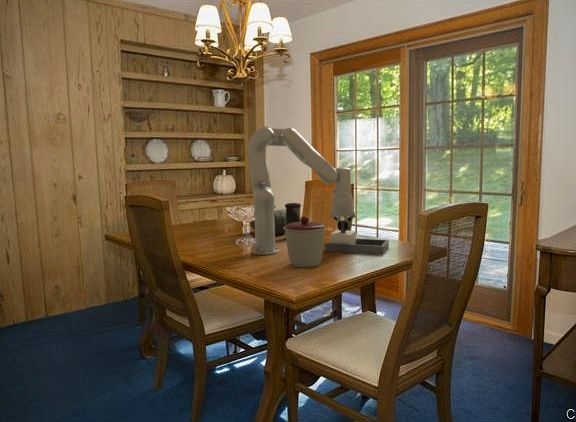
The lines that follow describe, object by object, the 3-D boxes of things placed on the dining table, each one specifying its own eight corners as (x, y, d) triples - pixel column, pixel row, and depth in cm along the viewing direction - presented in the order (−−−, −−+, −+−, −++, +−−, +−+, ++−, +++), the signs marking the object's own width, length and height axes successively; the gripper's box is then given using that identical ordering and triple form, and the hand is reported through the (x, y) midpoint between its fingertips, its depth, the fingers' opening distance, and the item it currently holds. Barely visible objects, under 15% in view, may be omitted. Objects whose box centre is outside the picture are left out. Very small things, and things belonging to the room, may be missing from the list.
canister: (275, 265, 190) (274, 216, 187) (304, 258, 203) (303, 212, 200) (306, 273, 177) (305, 220, 175) (335, 264, 190) (335, 215, 187)
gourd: (289, 233, 251) (284, 203, 252) (247, 239, 257) (242, 210, 257) (297, 230, 276) (293, 202, 276) (259, 236, 281) (255, 209, 281)
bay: (383, 255, 205) (383, 246, 205) (324, 251, 216) (324, 243, 215) (388, 248, 220) (388, 240, 220) (333, 244, 230) (333, 237, 230)
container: (301, 239, 247) (301, 203, 245) (285, 239, 247) (284, 203, 245) (301, 236, 256) (300, 201, 253) (285, 236, 256) (285, 202, 253)
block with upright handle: (350, 249, 213) (350, 222, 212) (330, 248, 217) (330, 221, 215) (355, 244, 224) (355, 219, 222) (336, 243, 227) (336, 218, 226)
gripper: (324, 193, 217) (325, 230, 219) (357, 193, 211) (357, 232, 213) (329, 192, 223) (329, 228, 226) (361, 192, 217) (361, 229, 220)
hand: (343, 230), depth 219 cm, fingers closed on block with upright handle, 2 cm apart
